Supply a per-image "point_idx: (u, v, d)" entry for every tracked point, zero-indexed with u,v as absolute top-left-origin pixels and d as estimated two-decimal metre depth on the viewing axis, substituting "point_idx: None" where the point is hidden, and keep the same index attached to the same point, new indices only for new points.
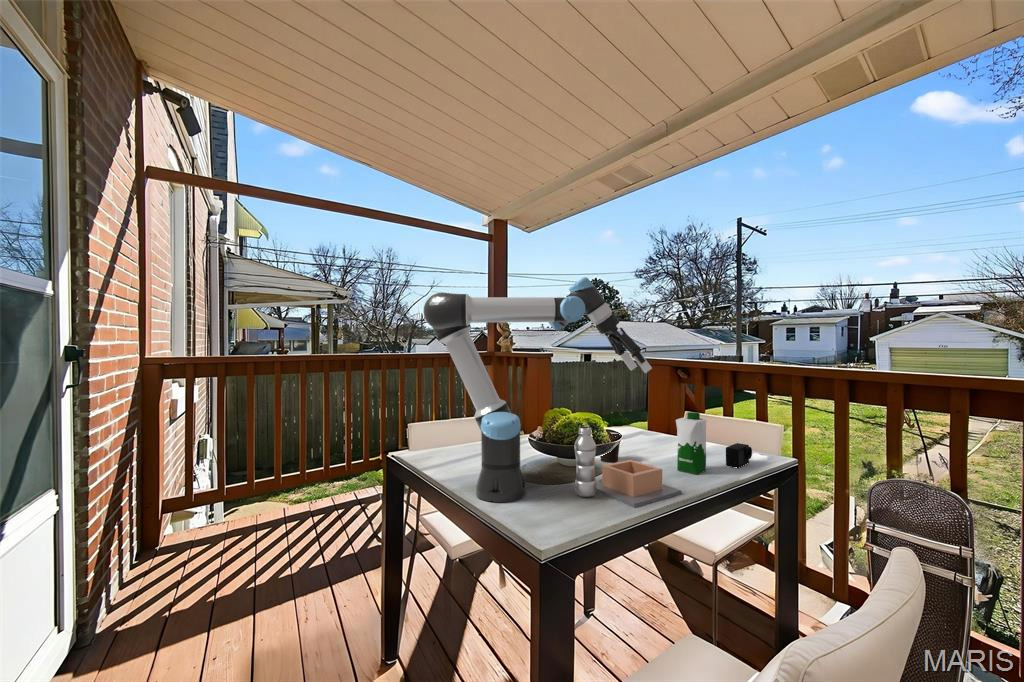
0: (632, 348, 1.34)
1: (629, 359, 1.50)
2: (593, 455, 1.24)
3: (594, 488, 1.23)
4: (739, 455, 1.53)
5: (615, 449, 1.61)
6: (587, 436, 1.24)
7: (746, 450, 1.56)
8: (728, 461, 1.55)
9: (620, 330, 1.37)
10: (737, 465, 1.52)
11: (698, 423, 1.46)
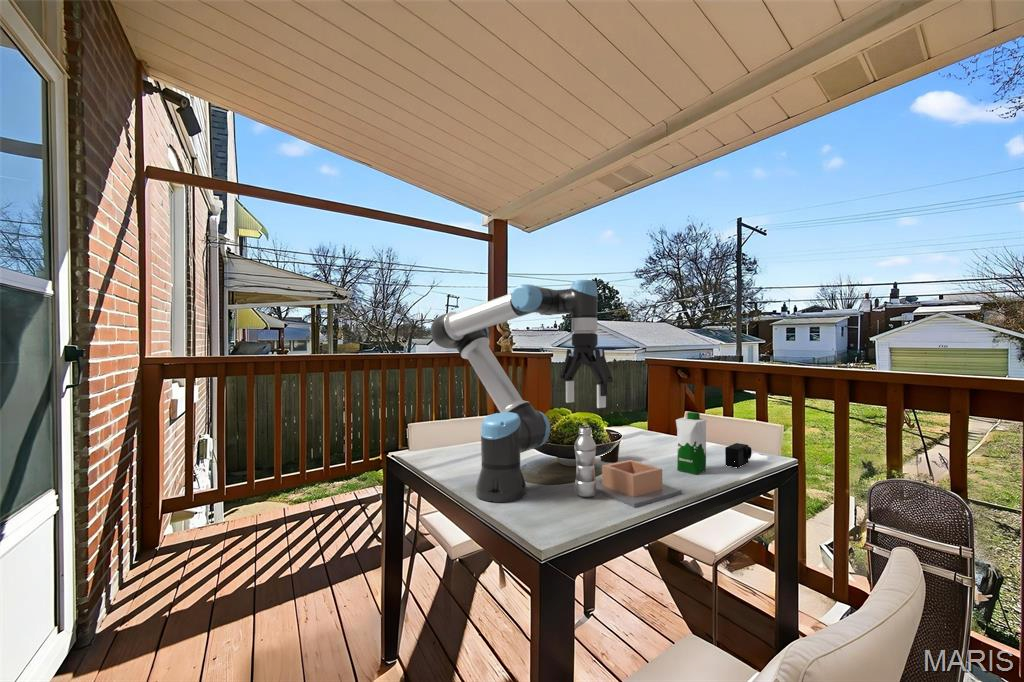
0: (606, 374, 1.18)
1: (572, 390, 1.32)
2: (593, 455, 1.24)
3: (594, 488, 1.23)
4: (739, 455, 1.53)
5: (615, 449, 1.61)
6: (587, 436, 1.24)
7: (746, 450, 1.56)
8: (728, 461, 1.55)
9: (601, 351, 1.21)
10: (737, 465, 1.52)
11: (698, 423, 1.46)
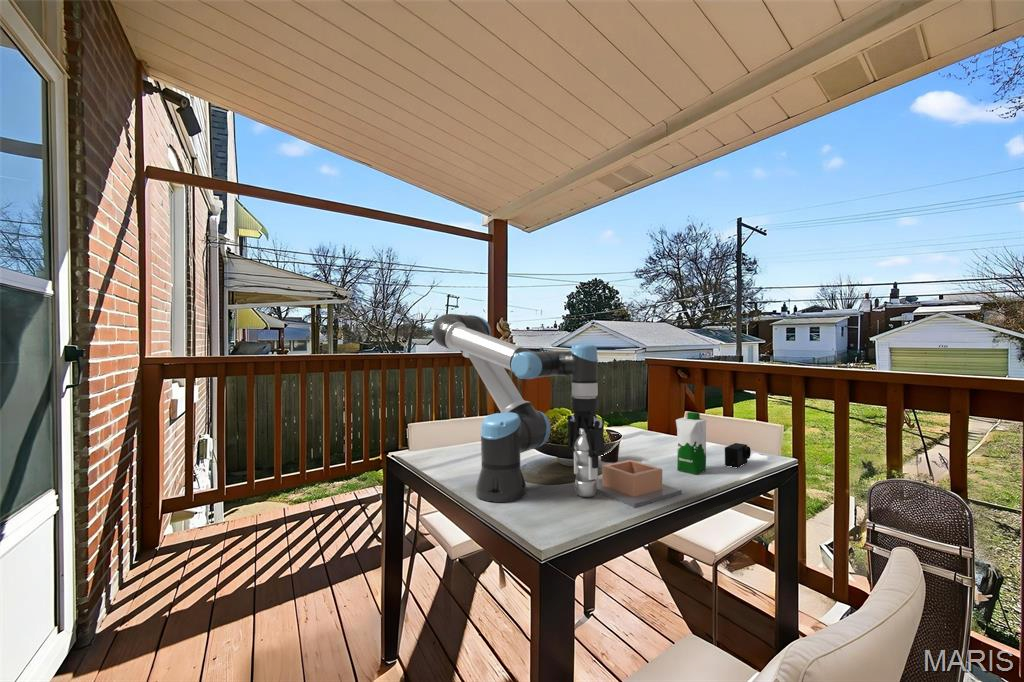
0: (599, 448, 1.20)
1: None
2: None
3: (594, 488, 1.23)
4: (738, 455, 1.53)
5: (615, 449, 1.61)
6: None
7: (745, 450, 1.56)
8: (727, 461, 1.55)
9: (601, 423, 1.20)
10: (736, 465, 1.53)
11: (698, 423, 1.46)
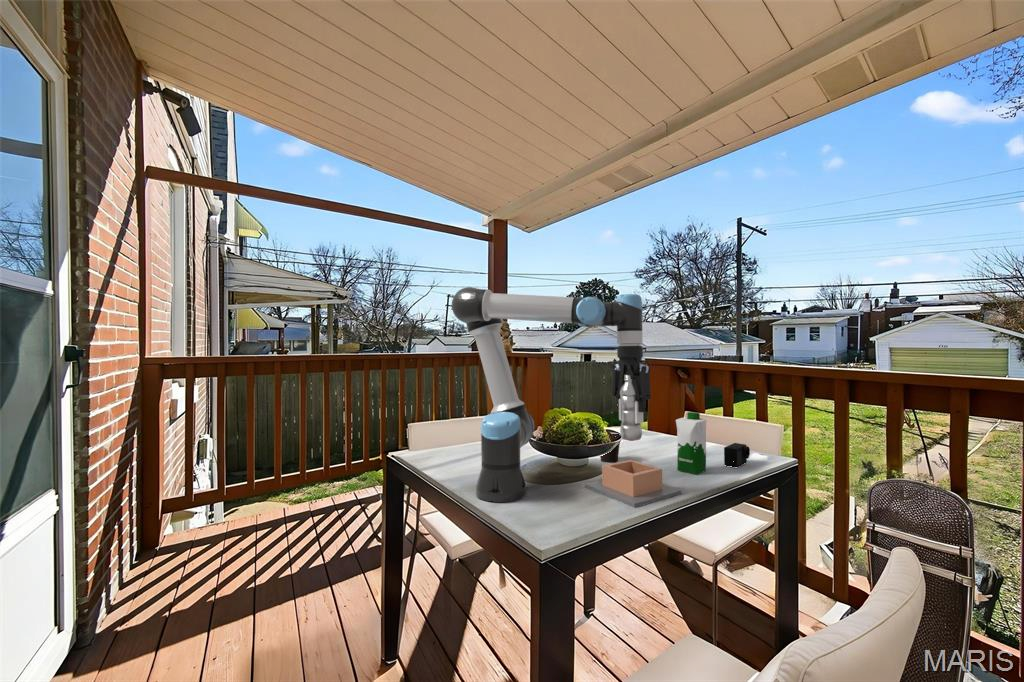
0: (645, 392, 1.24)
1: None
2: None
3: (640, 432, 1.28)
4: (738, 455, 1.53)
5: (615, 449, 1.61)
6: None
7: (744, 450, 1.56)
8: (726, 461, 1.55)
9: (648, 368, 1.25)
10: (735, 465, 1.53)
11: (698, 423, 1.46)
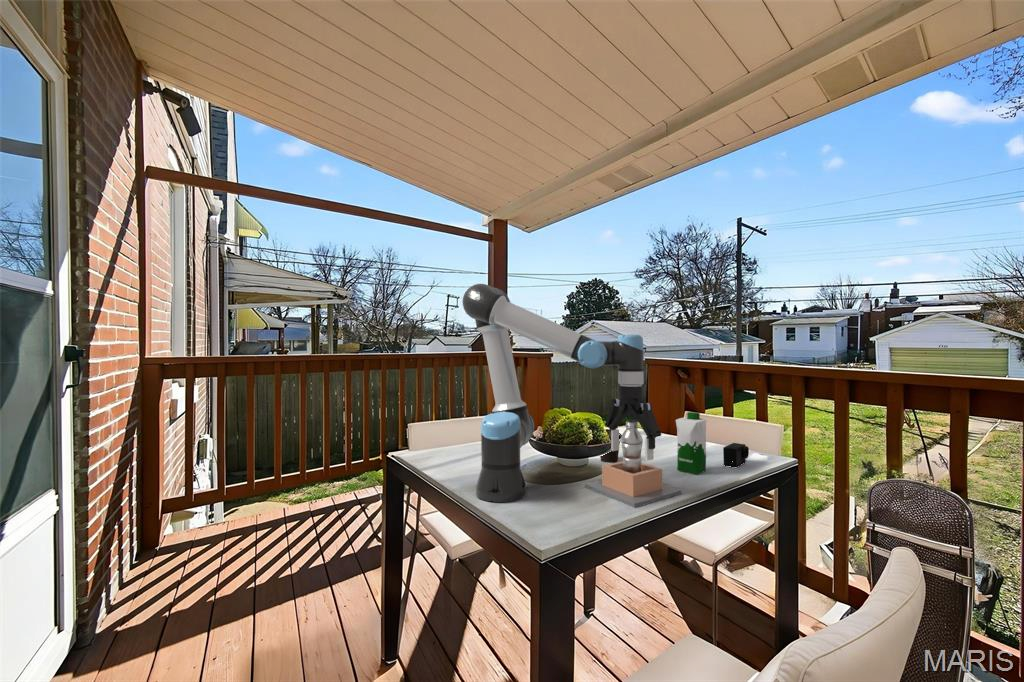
0: (654, 429, 1.22)
1: (617, 439, 1.36)
2: (640, 448, 1.27)
3: None
4: (737, 455, 1.53)
5: None
6: (634, 430, 1.28)
7: (743, 450, 1.56)
8: (726, 461, 1.55)
9: (649, 405, 1.25)
10: (735, 465, 1.53)
11: (698, 423, 1.46)
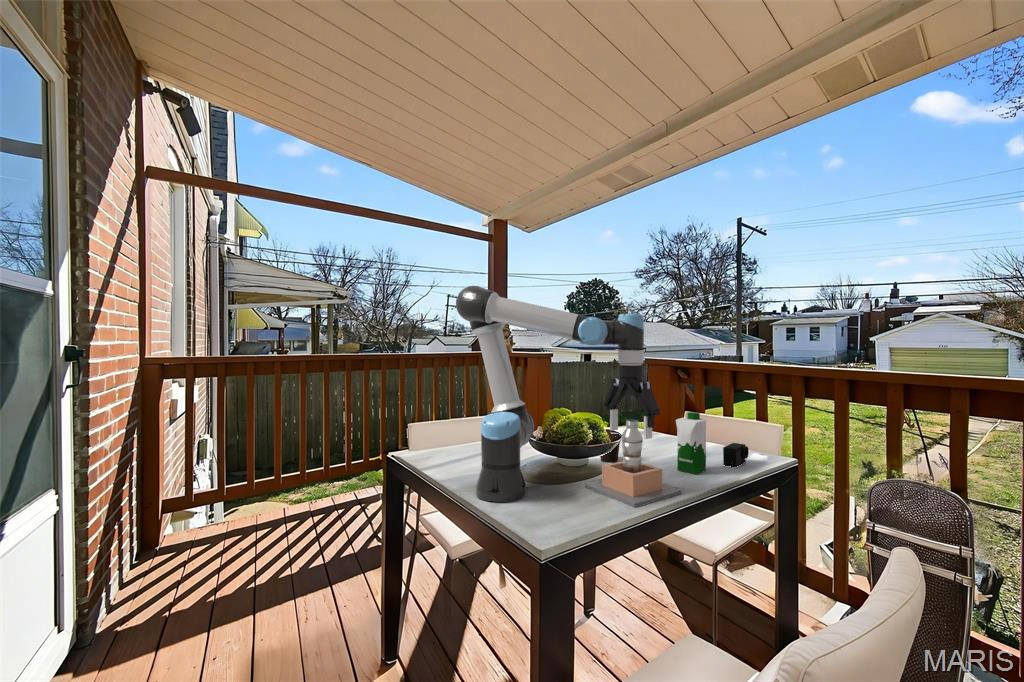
0: (653, 407, 1.22)
1: (616, 418, 1.36)
2: (640, 447, 1.28)
3: None
4: (737, 455, 1.54)
5: (615, 449, 1.61)
6: (635, 428, 1.29)
7: (743, 450, 1.56)
8: (726, 461, 1.55)
9: (649, 384, 1.25)
10: (735, 465, 1.53)
11: (698, 423, 1.46)
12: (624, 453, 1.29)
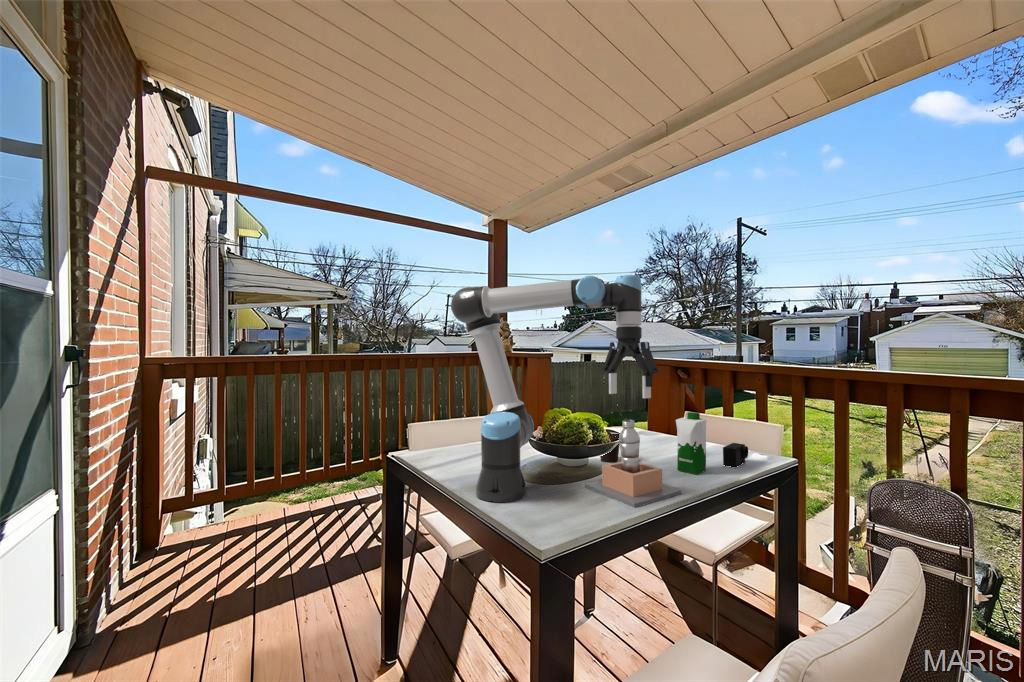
0: (652, 366, 1.22)
1: (614, 382, 1.36)
2: (638, 447, 1.28)
3: None
4: (736, 455, 1.54)
5: (615, 449, 1.61)
6: (631, 429, 1.29)
7: (743, 450, 1.56)
8: (725, 461, 1.55)
9: (647, 344, 1.25)
10: (734, 465, 1.53)
11: (698, 423, 1.46)
12: (622, 454, 1.29)
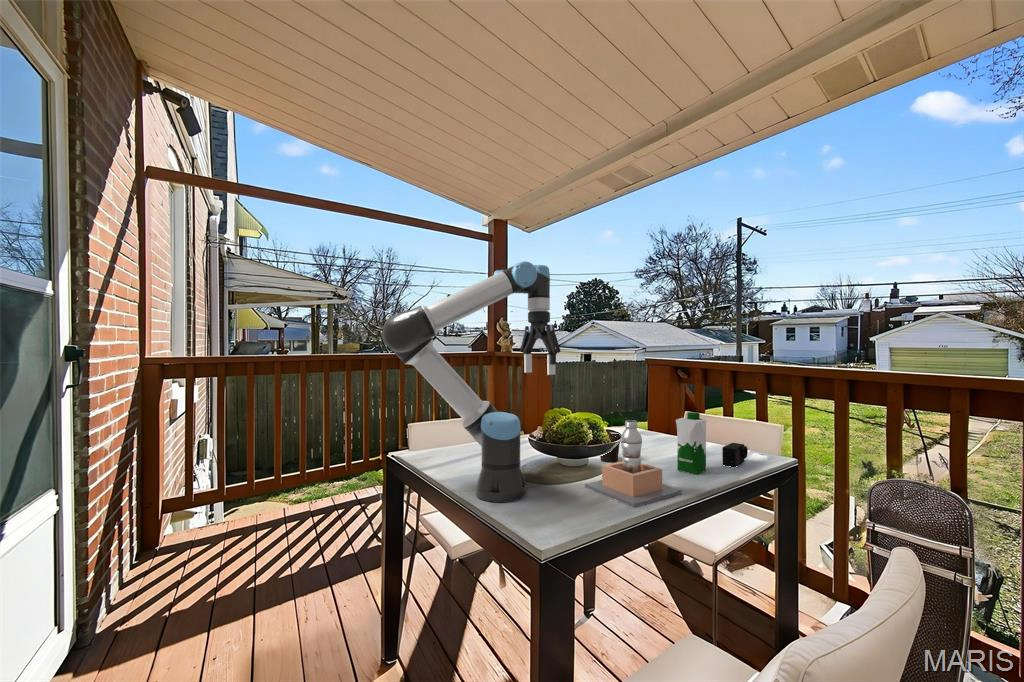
0: (554, 345, 1.37)
1: (529, 362, 1.51)
2: (640, 447, 1.28)
3: None
4: (736, 455, 1.54)
5: (615, 449, 1.61)
6: (634, 429, 1.29)
7: (742, 449, 1.56)
8: (725, 461, 1.55)
9: (551, 326, 1.40)
10: (734, 465, 1.53)
11: (698, 423, 1.46)
12: (623, 454, 1.29)
